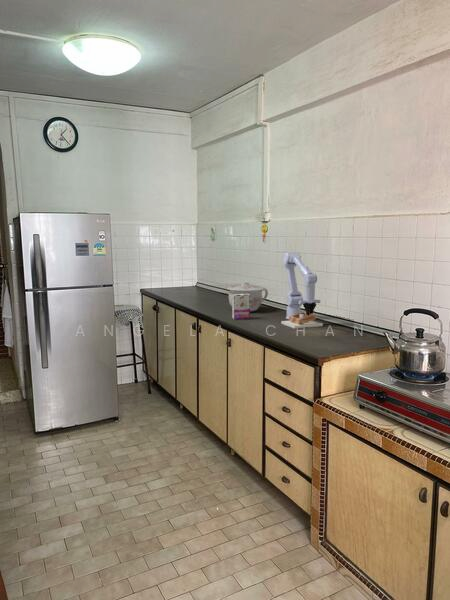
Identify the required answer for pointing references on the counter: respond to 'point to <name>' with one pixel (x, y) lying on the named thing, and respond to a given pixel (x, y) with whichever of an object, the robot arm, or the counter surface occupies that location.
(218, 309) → the counter surface
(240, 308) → the candy bar box
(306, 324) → the hook board
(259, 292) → the chamber pot
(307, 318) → the loop
